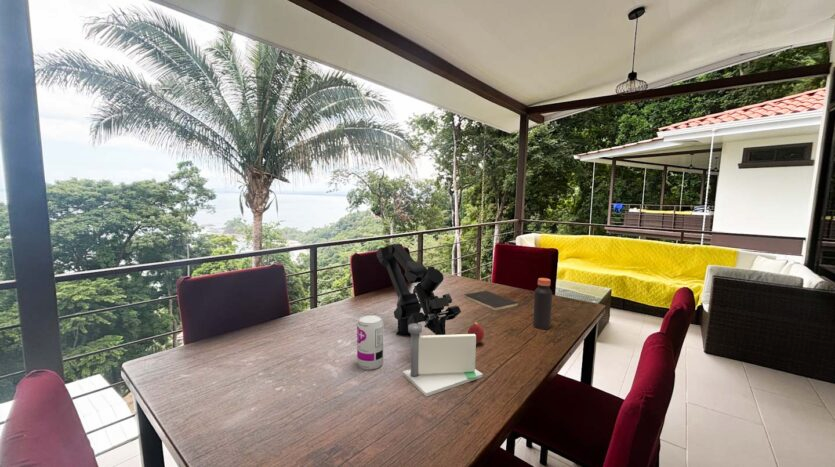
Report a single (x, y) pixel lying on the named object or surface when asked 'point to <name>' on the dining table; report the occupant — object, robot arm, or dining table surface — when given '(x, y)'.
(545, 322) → the bottle
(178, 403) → the dining table surface
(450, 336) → the hinged door panel
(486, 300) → the hardcover book
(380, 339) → the supplement can
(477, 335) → the onion
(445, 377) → the white base board
